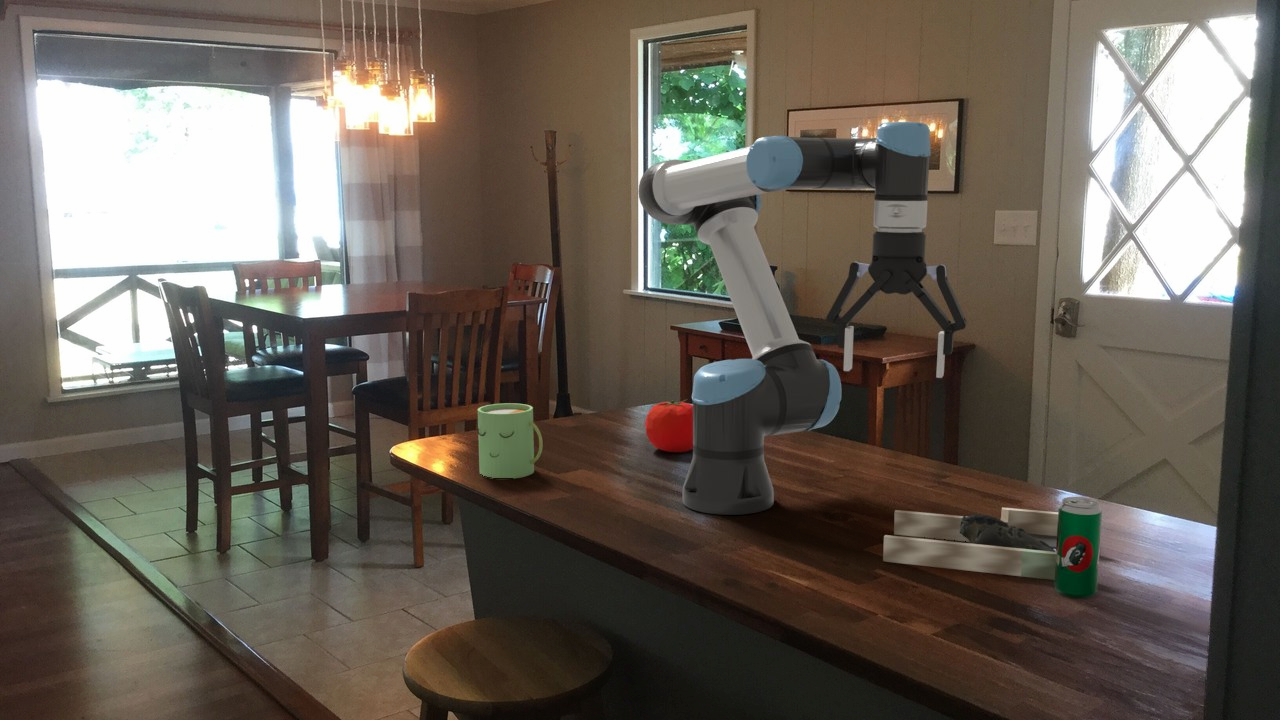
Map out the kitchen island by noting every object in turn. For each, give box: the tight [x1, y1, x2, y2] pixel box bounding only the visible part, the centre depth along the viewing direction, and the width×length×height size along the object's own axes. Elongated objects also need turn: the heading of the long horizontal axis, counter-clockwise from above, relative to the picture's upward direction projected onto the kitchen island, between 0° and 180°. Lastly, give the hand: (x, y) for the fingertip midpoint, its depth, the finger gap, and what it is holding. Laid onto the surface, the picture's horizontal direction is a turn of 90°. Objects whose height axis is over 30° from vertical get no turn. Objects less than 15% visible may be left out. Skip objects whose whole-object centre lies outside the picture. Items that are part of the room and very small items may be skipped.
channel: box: [882, 507, 1058, 581], centre depth 150 cm, size 27×20×4 cm
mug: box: [477, 402, 544, 479], centre depth 194 cm, size 13×10×12 cm
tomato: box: [644, 398, 693, 453], centre depth 210 cm, size 12×12×10 cm
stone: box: [959, 513, 1056, 552], centre depth 148 cm, size 7×13×5 cm, turn 57°
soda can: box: [1053, 496, 1103, 599], centre depth 133 cm, size 5×5×12 cm
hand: (893, 373), depth 157 cm, fingers open, 13 cm apart
